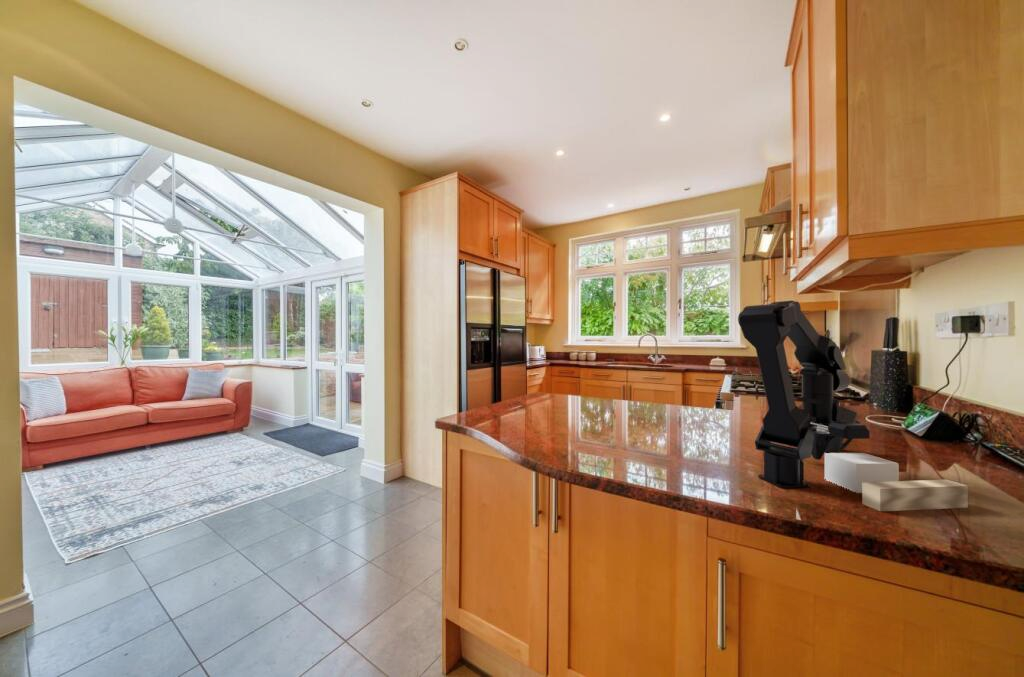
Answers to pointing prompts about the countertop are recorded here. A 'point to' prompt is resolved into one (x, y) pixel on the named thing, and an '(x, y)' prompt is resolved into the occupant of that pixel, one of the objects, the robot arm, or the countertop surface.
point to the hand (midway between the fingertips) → (817, 459)
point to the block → (858, 470)
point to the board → (914, 495)
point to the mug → (838, 443)
